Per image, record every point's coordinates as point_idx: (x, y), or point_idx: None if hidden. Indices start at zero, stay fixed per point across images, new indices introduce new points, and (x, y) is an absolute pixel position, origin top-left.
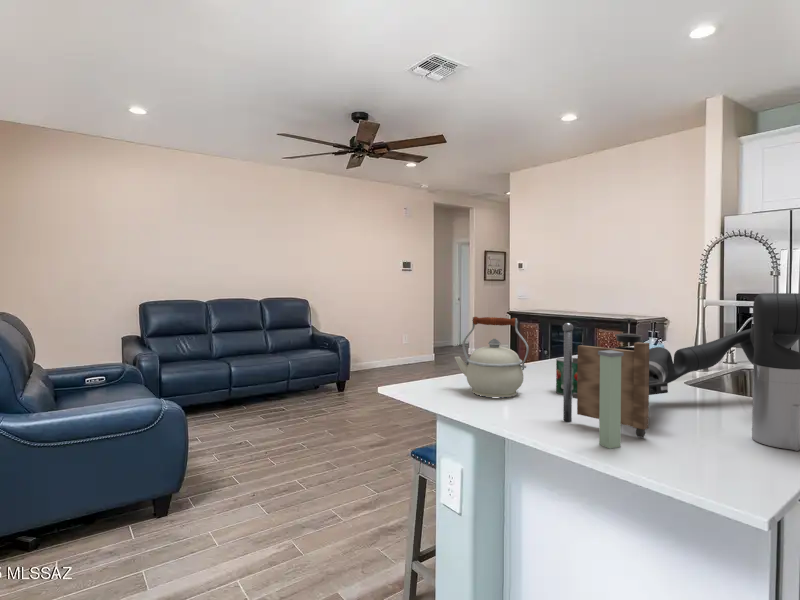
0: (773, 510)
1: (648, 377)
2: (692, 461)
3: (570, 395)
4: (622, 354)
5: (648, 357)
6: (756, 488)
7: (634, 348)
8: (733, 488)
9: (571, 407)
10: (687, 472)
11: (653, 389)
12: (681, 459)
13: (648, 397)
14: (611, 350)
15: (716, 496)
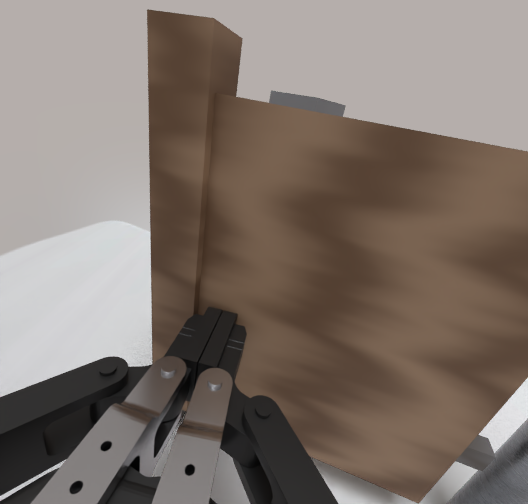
0: (91, 225)
1: (155, 226)
2: (106, 305)
3: (495, 454)
4: (272, 99)
5: (156, 118)
6: (64, 252)
7: (236, 74)
8: (101, 249)
9: (467, 500)
10: (142, 271)
11: (44, 446)
12: (125, 308)
13: (153, 308)
14: (314, 97)
15: (138, 236)
